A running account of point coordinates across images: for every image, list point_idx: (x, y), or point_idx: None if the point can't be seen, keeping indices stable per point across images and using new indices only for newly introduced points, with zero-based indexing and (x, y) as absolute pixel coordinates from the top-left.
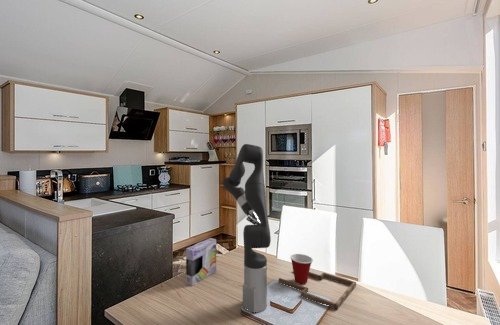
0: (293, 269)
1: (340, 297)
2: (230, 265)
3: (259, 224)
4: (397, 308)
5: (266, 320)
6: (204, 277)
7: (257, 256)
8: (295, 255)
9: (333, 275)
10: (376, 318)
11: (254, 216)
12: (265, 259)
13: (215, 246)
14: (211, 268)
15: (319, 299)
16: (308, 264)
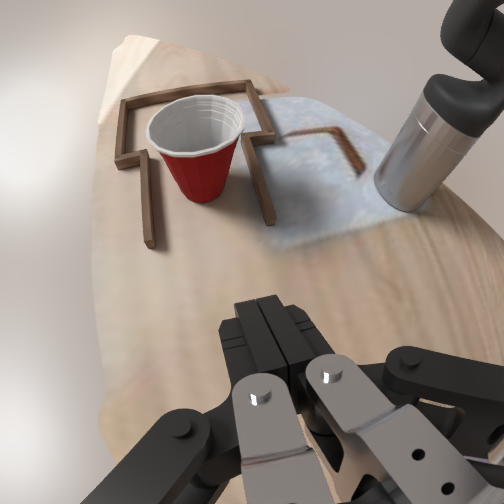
0: (228, 164)
1: (216, 85)
2: None
3: (330, 351)
4: (161, 58)
5: None
6: None
7: (462, 80)
8: (180, 155)
9: (117, 137)
10: (216, 59)
11: (457, 475)
12: (436, 74)
13: None
14: None
15: (260, 102)
16: (204, 105)
